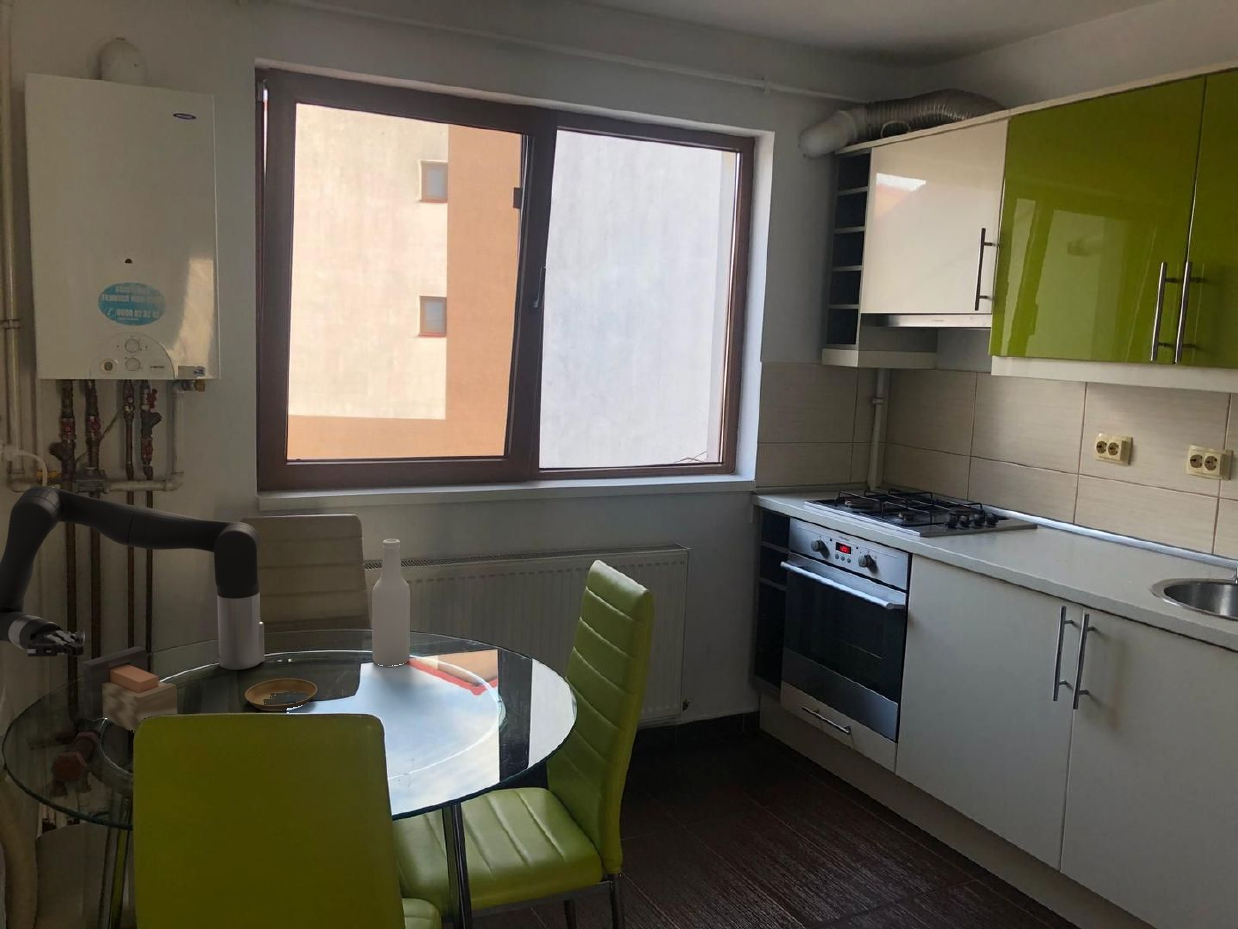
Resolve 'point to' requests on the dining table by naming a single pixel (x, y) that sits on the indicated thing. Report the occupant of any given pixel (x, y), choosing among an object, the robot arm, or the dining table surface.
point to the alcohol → (391, 610)
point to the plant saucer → (279, 686)
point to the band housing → (124, 691)
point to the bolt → (76, 756)
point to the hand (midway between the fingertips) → (79, 651)
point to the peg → (132, 678)
